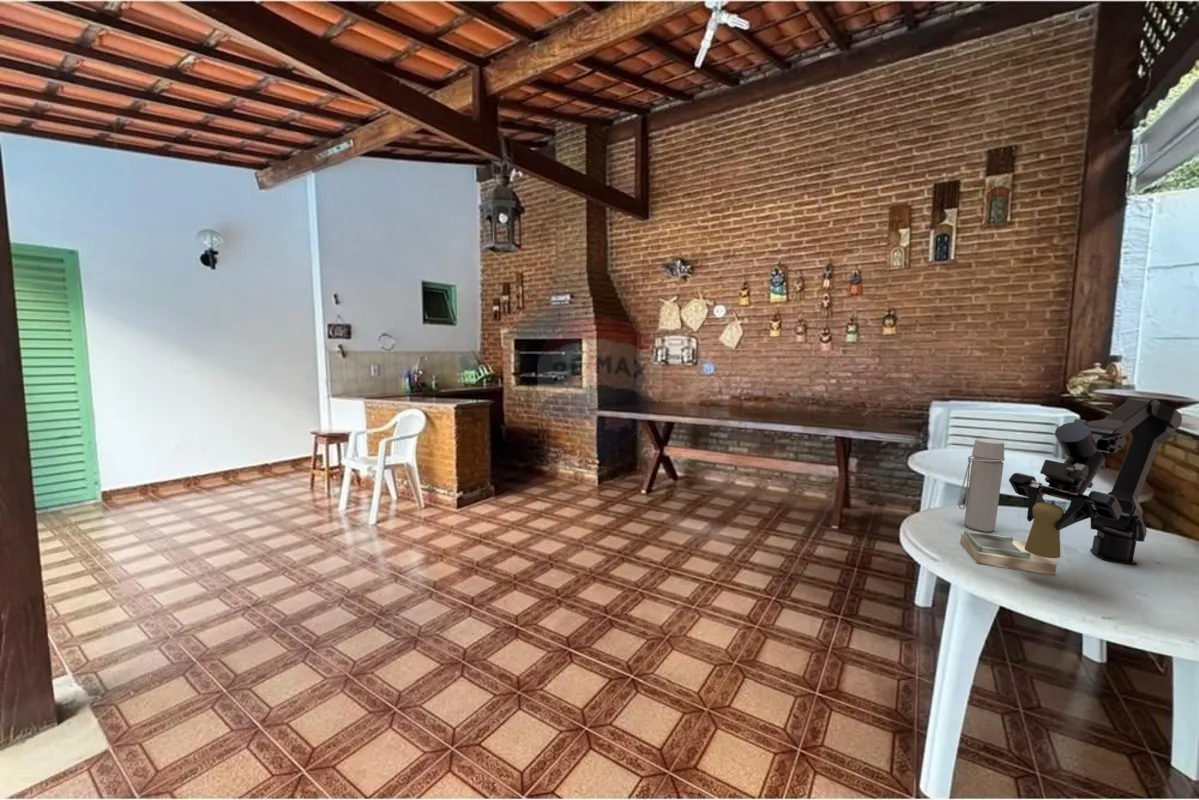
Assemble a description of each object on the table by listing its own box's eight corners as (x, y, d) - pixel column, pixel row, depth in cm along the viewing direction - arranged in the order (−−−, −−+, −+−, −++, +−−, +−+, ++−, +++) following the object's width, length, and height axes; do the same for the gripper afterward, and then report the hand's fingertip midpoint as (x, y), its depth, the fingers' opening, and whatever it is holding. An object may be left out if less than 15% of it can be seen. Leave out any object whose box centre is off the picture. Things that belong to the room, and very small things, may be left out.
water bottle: (989, 524, 148) (1000, 439, 144) (1000, 534, 140) (1012, 445, 137) (951, 520, 151) (961, 436, 147) (960, 529, 143) (971, 442, 140)
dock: (1029, 552, 130) (1032, 538, 129) (1055, 575, 118) (1057, 559, 117) (960, 542, 135) (961, 529, 134) (977, 563, 122) (979, 548, 122)
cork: (1067, 559, 110) (1075, 510, 109) (1037, 557, 111) (1044, 508, 110) (1046, 547, 116) (1053, 500, 115) (1017, 545, 117) (1024, 499, 116)
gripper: (1018, 438, 120) (983, 489, 118) (1124, 458, 103) (1085, 517, 101) (1034, 468, 125) (1000, 517, 122) (1137, 491, 108) (1100, 549, 105)
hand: (1042, 524), depth 112 cm, fingers closed on cork, 5 cm apart
